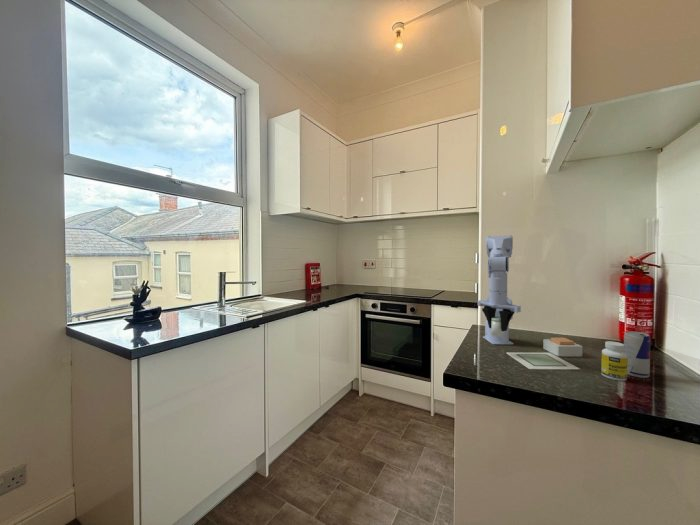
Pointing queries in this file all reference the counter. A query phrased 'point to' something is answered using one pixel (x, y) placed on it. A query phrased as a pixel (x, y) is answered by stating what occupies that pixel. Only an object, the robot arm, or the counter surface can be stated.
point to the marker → (496, 327)
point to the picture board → (542, 361)
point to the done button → (562, 341)
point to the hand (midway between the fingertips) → (497, 329)
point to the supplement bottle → (614, 361)
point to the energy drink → (637, 353)
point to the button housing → (562, 348)
